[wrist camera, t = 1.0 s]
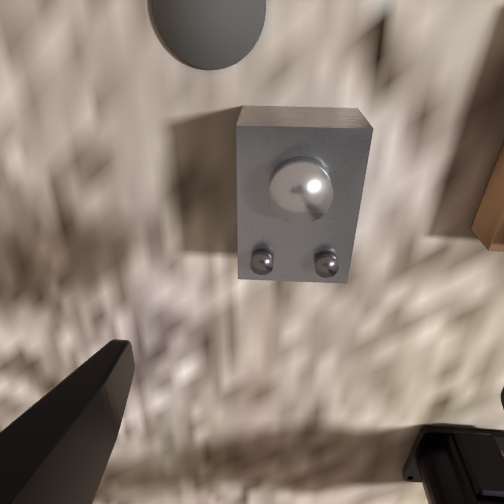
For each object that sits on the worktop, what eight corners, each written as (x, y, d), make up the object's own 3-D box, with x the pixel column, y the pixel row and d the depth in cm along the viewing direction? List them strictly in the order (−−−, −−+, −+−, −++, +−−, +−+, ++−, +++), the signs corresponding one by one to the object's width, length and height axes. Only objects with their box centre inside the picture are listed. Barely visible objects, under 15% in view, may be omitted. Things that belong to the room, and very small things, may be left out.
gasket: (263, 70, 17) (262, 72, 16) (161, 65, 17) (157, 67, 16) (269, -61, 14) (269, -63, 14) (150, -66, 15) (145, -68, 14)
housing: (337, 243, 21) (350, 297, 17) (243, 240, 21) (236, 292, 17) (357, 106, 17) (379, 136, 13) (243, 104, 18) (233, 132, 14)
